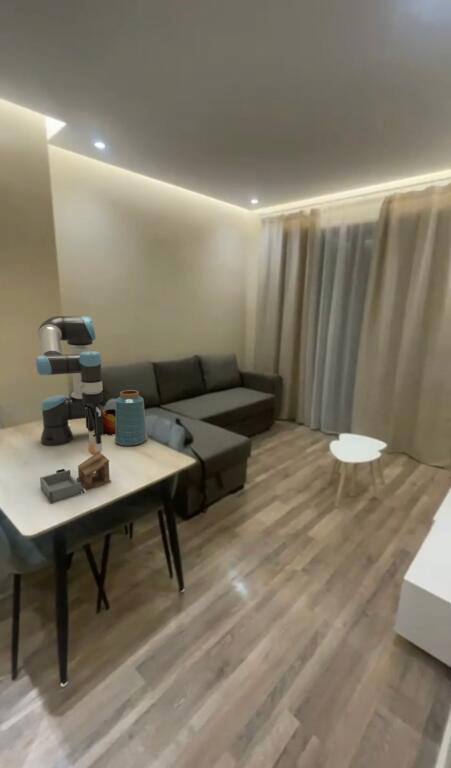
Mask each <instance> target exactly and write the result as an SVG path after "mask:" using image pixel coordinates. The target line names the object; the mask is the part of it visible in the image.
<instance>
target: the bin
mask: <svg viewBox="0 0 451 768" xmlns="http://www.w3.org/2000/svg"><path fill="white" fill-rule="evenodd" d="M39 480H40V490H42V492H43V494H44V495H45V497H46V498H47V500H48V501H49V504H53V503H54V504H55V503H57V502H60V501H63V500H66V499H69V498H73V497H76V496H79V495H82V494H83V492H82V490H81V488H82V485H81V482H78V481H77V480H75V478H74V477H73V476H72V475H71V470H70V469H67V470H65V471H63V472H59V473H56V472H55V473H52V474H49V475H44V476H41V477H39Z"/></svg>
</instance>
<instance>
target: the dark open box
mask: <svg viewBox="0 0 451 768" xmlns="http://www.w3.org/2000/svg"><path fill="white" fill-rule="evenodd" d="M63 471H66V469H65V468H62V469H58V470H56V471H55V474H56V473H59V472H63Z"/></svg>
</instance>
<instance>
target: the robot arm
mask: <svg viewBox="0 0 451 768" xmlns="http://www.w3.org/2000/svg"><path fill="white" fill-rule="evenodd" d="M37 334H38V335H37V336H38V338H39V341H40V345H41V347H40V348H41V355H37V356H36V357H35V364H36V372H37V374H38V375H39V376H51V375H53V376H54V375H68V374H69V375H70V374H71V375H72V381H73V384H72V385H73V391H72V393H71V394H70V397H67V395H65V394H58V395H52V396H49V397H47V398H44V399H43V400H42V401H41V412H42V425H43V428H42V433H41V437H40V443H41V444H42V445H45V446H51V447H52V446H60V445H64V444H68V443H70V442H72V440H73V439H74V433H73V432H72V429H71V427H70V425H69V421H73V420H81V419H82V420H84V419H85V427H86V429H87V431H88V443H89V446H90V445H91V444H92V443H94V449H95V452H97V451H101V452H102V451H103V445H102V444H103V443H102V441H103V440H102V436H104V435H105V434H104V430H103V411H104V410H101V407H100V403H102V402H103V401H104V392H103V390H104V389H103V388H104V387H103V385H104V384H103V376H102V375H103V374H102V357H101V353H100V352H99V351H96V350H95V351H93V350H90V349H91V348H90V347H91V346H92V345H93V341H95V340H97V337H96V330H95V327H94V323H93V319H92V318H91V317H90V316H82V315H78V316H77V315H72V316H71V315H70V316H69V315H65V316H63V315H57V316H52V317H50V318H48V319H46V320H44V321H43V322H42V323H41V324H40V326H39V328H38V331H37ZM61 341H64V342H65V341H66V342H67V346H69V347H70V352H71V354H63V350H62V344H61ZM73 441H74V440H73ZM89 446H88V447H89Z"/></svg>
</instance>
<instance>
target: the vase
mask: <svg viewBox="0 0 451 768" xmlns="http://www.w3.org/2000/svg"><path fill="white" fill-rule="evenodd" d="M119 395H120V396H119V397H118V398H116V399H115V409H116V416H115V419H116V420H115V435H114V441H115V443H116V444H118V445H120V446H123V445H124V446H125V447H133V446H132V445H135V446H138V444H139V445H141V444H143V443H145V442H146V441H147V440H148V435H147V423H146V413H145V402H144V398H143V397H141V395H140V394H139V391H138V390H135V389H127V390H122V391H120V393H119ZM124 446H123V447H124Z"/></svg>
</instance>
